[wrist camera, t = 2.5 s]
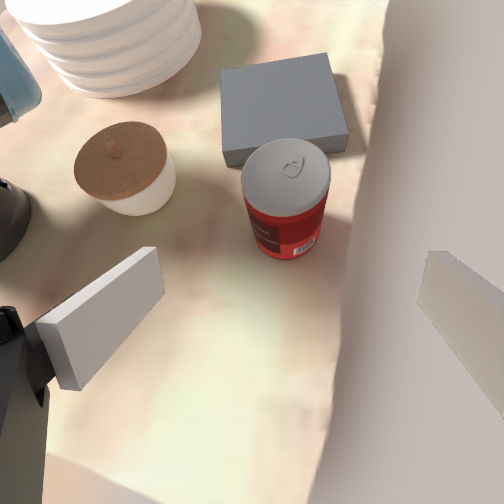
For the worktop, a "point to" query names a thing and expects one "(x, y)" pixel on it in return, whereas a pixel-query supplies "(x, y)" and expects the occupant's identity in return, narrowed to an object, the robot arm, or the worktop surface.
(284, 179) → the canned food
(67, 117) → the worktop surface
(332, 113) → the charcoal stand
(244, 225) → the worktop surface
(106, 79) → the plate stack
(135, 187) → the lidded jar
